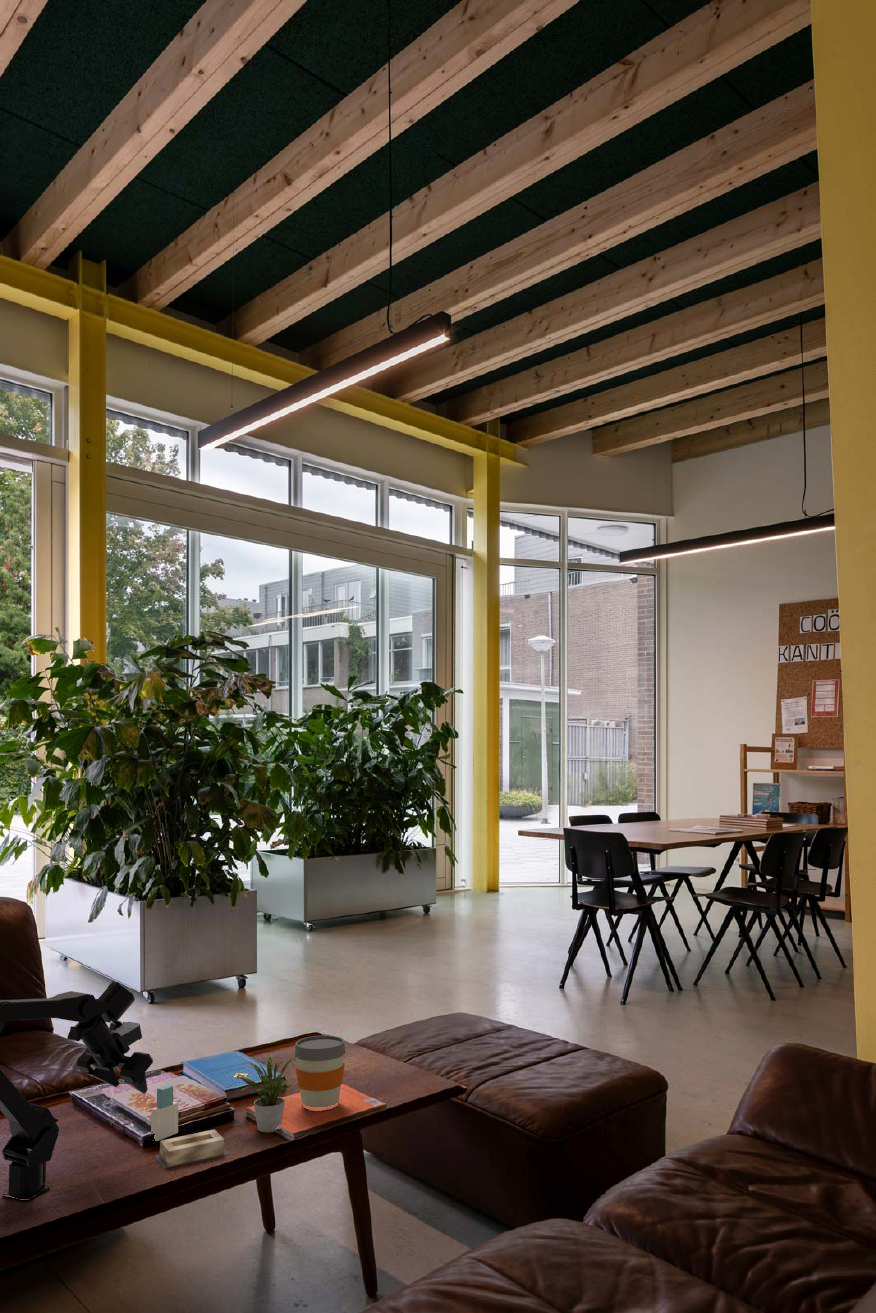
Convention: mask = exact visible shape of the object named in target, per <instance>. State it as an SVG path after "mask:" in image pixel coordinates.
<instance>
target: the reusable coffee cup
mask: <svg viewBox="0 0 876 1313" xmlns="http://www.w3.org/2000/svg"><path fill="white" fill-rule="evenodd" d="M294 1049H295V1050H294V1058H295V1057H298V1058H296V1059H295V1061H296V1066H295V1072H296V1081H297V1087H298V1088H299V1091H300V1099H301V1104H302V1103H303V1104H304V1105H306V1106H310V1107H328V1106H331V1105H335V1104H336V1103H338V1102H339V1103H340V1093H341V1086H342V1084H343V1082H344V1075H345V1074H344V1072H345V1063H344V1057H345V1054H346V1047H345V1040H344V1038H342V1037H340V1036H336V1035H313V1036H308V1037H303V1038H300V1039H298V1040H297V1041H296V1042H295V1048H294ZM299 1056H300V1057H299Z"/></svg>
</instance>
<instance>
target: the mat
mask: <svg viewBox="0 0 876 1313" xmlns="http://www.w3.org/2000/svg"><path fill="white" fill-rule="evenodd" d="M226 1155H227V1156H228V1155H230V1153H229V1151H228V1150H227V1149H226V1148H225V1147H224V1154H222V1155H218V1156H213V1157H209V1158H204V1159H200V1160H195V1161H191V1162H186V1163H182V1164H177V1165H173V1166H169V1167H168V1165H167V1164H166V1163H165V1161H164V1160H163V1159H162V1158H161V1156H160V1154H157V1155H154V1157H155V1158H156V1160H157V1161H158V1163H159V1164H160V1165H161V1166H162V1168H163V1169H164V1170H165V1169H169V1168H173V1167H177V1166H182V1165H183V1166H184V1165H187V1164H191V1163H195V1162H200V1161H205V1160H208V1159H214V1158H219V1157H223V1156H226Z"/></svg>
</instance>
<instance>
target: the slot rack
mask: <svg viewBox="0 0 876 1313" xmlns="http://www.w3.org/2000/svg"><path fill="white" fill-rule="evenodd" d="M224 1148H225V1138H224V1137H223V1136H222V1135H221V1134H220V1133H218V1131H217V1130H216V1129H210V1130H204V1131H200V1132H197V1133H191V1134H186V1135H182V1136H176V1137H172V1138H167V1139H166V1138H165V1139H161V1140H159V1155H160V1156H161V1158H162V1159H163V1160H164V1161H165V1163H166V1164H167V1165H168V1167H169V1166H173V1165H177V1164H182V1163H186V1162H191V1161H195V1160H200V1159H204V1158H209V1157H213V1156H218V1155H222V1154H224ZM169 1168H170V1167H169Z"/></svg>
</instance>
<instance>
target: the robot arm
mask: <svg viewBox="0 0 876 1313" xmlns="http://www.w3.org/2000/svg"><path fill="white" fill-rule="evenodd" d="M135 1000H136V999H135V996H134V994H133V993H132V992H131V991H130V990H128V989H127V988H126V987H125V986H124V985H123V986H122V985H121V983H120V982H119V981H111V982H110V983H109V985H108V987H106V989H105V990H104V992H102V994H100V996H99V997H98V998H96V997H95V995H93V994H89V993H84V992H78V991H73V990H72V991H71V990H70V991H65V992H62V993H61V992H60V993H57V994H55V995H54V996H52V997H48V998H45V997H44V998H24V999H3V1000H2V999H0V1035H1V1033H2V1032H3V1029H4V1027H5V1026H6V1025H7V1024H8V1023H9V1022H17V1021H33V1020H45V1019H46V1020H47V1019H58V1020H65V1021H69V1022H76V1024H75V1025H74V1026H70V1028H69V1029H70V1030H69V1032H68V1034H67V1040H70V1041H74V1042H80V1041H81V1042H82V1043H83V1044H84V1046H85V1047H86V1049H85V1051H83V1052H82V1054H81V1055H80V1056H79V1057H78V1058H77V1062H76V1067H77V1068H78V1070H79V1072H82V1073H85V1074H86V1075H89V1076H91V1077H93V1078H96V1079H97V1080H100V1082H101V1081H102V1082H104V1083H106V1084H108V1085H109V1086H111V1087H115V1088H118V1087H119V1085H120V1080H119V1078H118V1076H117V1073H116V1072H115V1069H114V1068H116V1067H118V1068H120V1073H119V1077H120V1078H121V1079H122V1080H123V1082H124V1084H126V1085H128V1086H129V1087H131V1088H133V1089H135V1090H137V1091H138V1092H139V1093H141V1094H144V1095H145V1094H146V1093H147V1091H148V1083H147V1076H146V1072H147V1070H148V1069H149V1068H150V1067H151V1066H152V1065H153V1063H154V1059H153V1057H152V1056H151V1054H150V1053H146V1052H141V1051H134V1052H133V1053H132V1054H131V1055H129V1056H127V1055H125V1054H128V1053H129V1051H131V1048H130V1046H132V1045H133V1044H134V1043H136V1042H137V1041H139V1040H141V1039H142V1038H143V1034H142V1028H141V1024H140V1023H138V1022H134V1021H121V1020H120V1019H121V1018H122V1017H123V1016H124V1014H125V1013H126V1012H127V1011H128V1010H129V1008H130V1007H131V1006H132V1005H133V1004H134V1002H135ZM107 1023H109V1025H108V1024H107ZM0 1112H1V1113H2V1114H3V1115H4V1117H6V1119H7V1120H8V1122H9V1124H8V1125H9V1132H10V1134H11V1137H10V1138H9V1140H7V1141H8V1142H7V1143H6V1144H5V1145H4V1146H3V1149H2V1150H1V1153H2V1157H3V1160H4V1161H10V1162H11V1163H10V1164H9V1165H8V1168H9V1169H8V1191H9V1192H7V1191H6V1192H7V1194H3V1193H2V1194H1V1195H10V1196H12V1197H15V1198H18V1199H30V1198H32V1197H33V1196H35V1195H37V1196H39V1195H41V1194H43V1193H45V1192H46V1191H45V1190H47V1191H49V1190H51V1185H49V1184H46V1182H47V1181H46V1180H47V1179H46V1178H47V1177H46V1176H47V1162H49V1161H51V1160H52V1157H53V1153H54V1150H55V1146H56V1142H57V1140H58V1137H59V1133H60V1127H59V1125H58V1123H57V1122H59V1119H58V1118H55V1117H54V1115H53V1114H52V1112H51V1110H50V1109H49V1108H48V1107H46V1106H43V1105H38V1104H35V1103H31V1102H28V1100H27V1099H26V1098H25V1097H24V1095H23V1094H22V1093H21V1092H20V1091H19V1090H18V1088H17V1087H16V1085H15V1084H14V1083H13V1082H12V1080H11V1079H10V1078H9V1077H8V1076H7V1074H6V1073H5V1072H4V1071H3V1069H1V1067H0ZM44 1191H45V1192H44ZM42 1192H43V1193H42ZM40 1193H41V1194H40ZM38 1194H39V1195H38ZM32 1199H33V1198H32ZM30 1200H31V1199H30Z"/></svg>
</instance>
